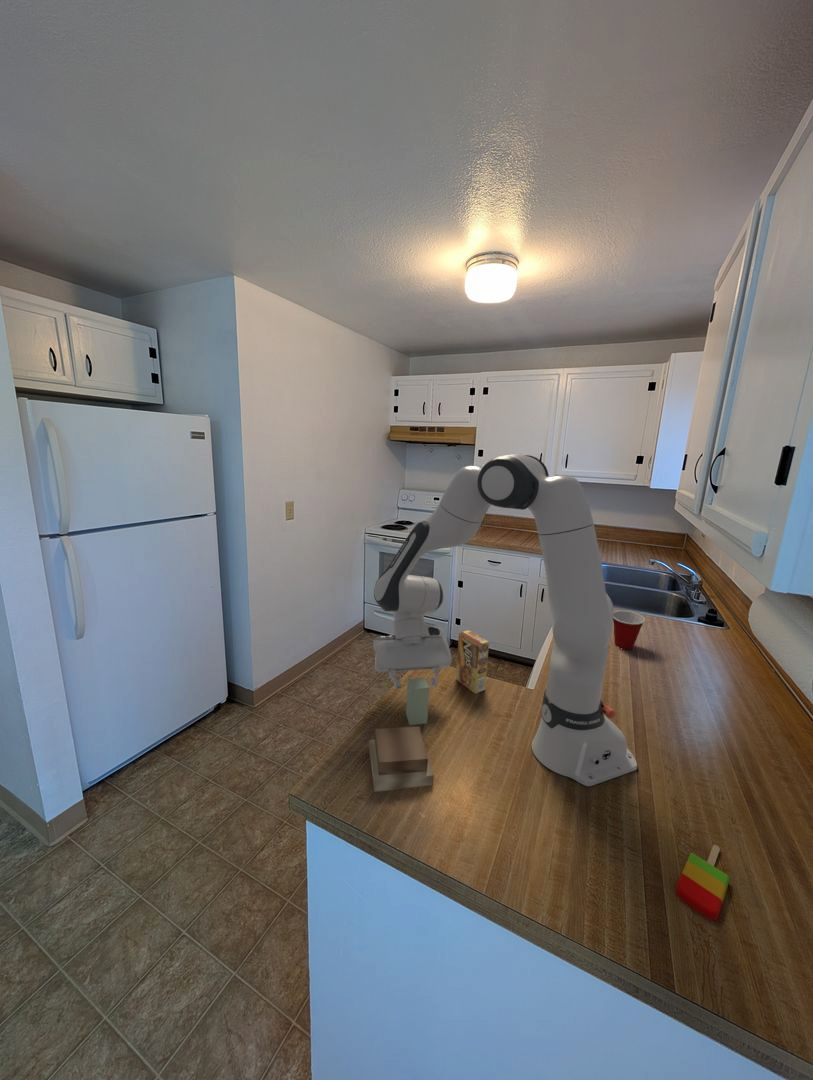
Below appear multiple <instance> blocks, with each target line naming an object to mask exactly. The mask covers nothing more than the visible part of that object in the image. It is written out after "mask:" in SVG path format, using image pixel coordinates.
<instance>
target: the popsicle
mask: <svg viewBox="0 0 813 1080" xmlns="http://www.w3.org/2000/svg"><path fill="white" fill-rule="evenodd" d="M720 850H721V848H720V847H719V846H718V845H716V844H712V847H711V850H710V853H709V856H708V858H707V859H706V860H705V859H703V858H701V857H699V855H696V854H695V853H693V852H690V853H689V856H688V858H687V861H686V862H685V865H684V868H683V870H682V871H681V874H680V877H679V879H678V881H677V884H676V886H675V894H676V895H677V897H678V898H679V899H680V901H682V902H684V903H685V904H687V905H688V906H689V907H690V908H693V910H694V911H696V912H697V913H700V914H701V915H702V916H703V917H705V918H706V919H708V920H711V921H716V920H718V918H719V915H720V912H721V909H722V905H723V903H724V899H725V896H726V893H727V890H728V885H729V884H730V883H729V882H730V876H729V875H728V874H727V873H725V872H724V871H722V870H720V869H718V868H717V867H715V864H716V862H717V858H718V856H719V853H720Z"/></svg>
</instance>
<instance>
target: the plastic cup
mask: <svg viewBox="0 0 813 1080" xmlns="http://www.w3.org/2000/svg"><path fill="white" fill-rule="evenodd" d="M645 622H646V618H645V617H644V616H643V615H642V614H639V613H637V612H633V611H629V610H615V611H614V612H613V635H614V636H613V637H614V646H615V645H616V646H618V647H619V649H621V648H622V649H621V650H624V649H627V650H626V651H631V650H632V649H633V647H634V646H635V644H636V642H637V639H638V636H639V633H640V631H641V629H642V626H643V625H644V623H645ZM616 646H615V647H616ZM618 647H617V648H618ZM630 649H631V650H630Z"/></svg>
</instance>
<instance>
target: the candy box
mask: <svg viewBox="0 0 813 1080" xmlns="http://www.w3.org/2000/svg"><path fill="white" fill-rule="evenodd" d="M457 642H458V643H457V655H456V656H457V658H456V674H455V680H457V681H458V682H459V683H460V684H462V685H463V686H464V687H466V688H467V689H468V690H469V691H471V692H472V693H473V694H475V695H476V694H479V693H481V692H483V691H485V690H486V686H487V685H486V684H487V673H488V660H489V659H488V658H489V647H490V642H489V640H487V639H485V638H483V637H482V636H480V635H478V634H477V633H475V632H473V631H471V630H469V629H467V630H464V631H461V632H458V640H457ZM472 674H473V675H472Z"/></svg>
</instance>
